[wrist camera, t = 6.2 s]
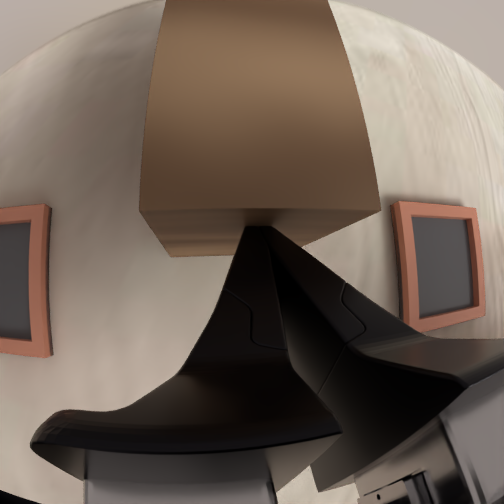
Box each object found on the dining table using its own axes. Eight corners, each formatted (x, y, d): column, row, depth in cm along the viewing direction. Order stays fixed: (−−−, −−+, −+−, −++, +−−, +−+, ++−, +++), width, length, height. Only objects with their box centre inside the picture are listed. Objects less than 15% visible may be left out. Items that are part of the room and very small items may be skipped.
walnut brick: (286, 253, 16) (381, 210, 8) (170, 256, 15) (139, 210, 7) (267, 52, 18) (305, -49, 9) (180, 48, 17) (183, -61, 8)
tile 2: (475, 315, 18) (485, 315, 17) (400, 333, 17) (409, 335, 16) (467, 211, 19) (475, 208, 18) (390, 205, 18) (399, 200, 17)
